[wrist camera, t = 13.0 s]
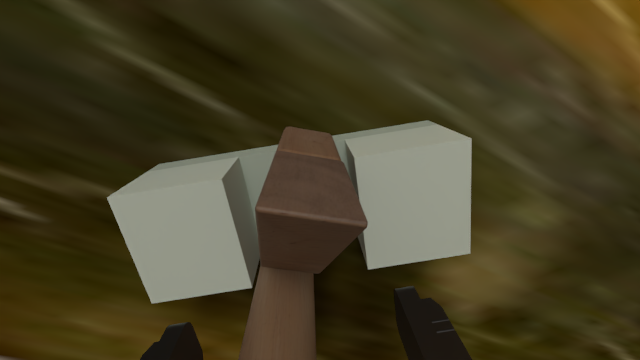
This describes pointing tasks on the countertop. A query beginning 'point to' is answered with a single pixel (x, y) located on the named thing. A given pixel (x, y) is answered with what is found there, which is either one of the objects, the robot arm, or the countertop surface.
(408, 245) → the slotted beam
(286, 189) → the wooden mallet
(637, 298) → the countertop surface
